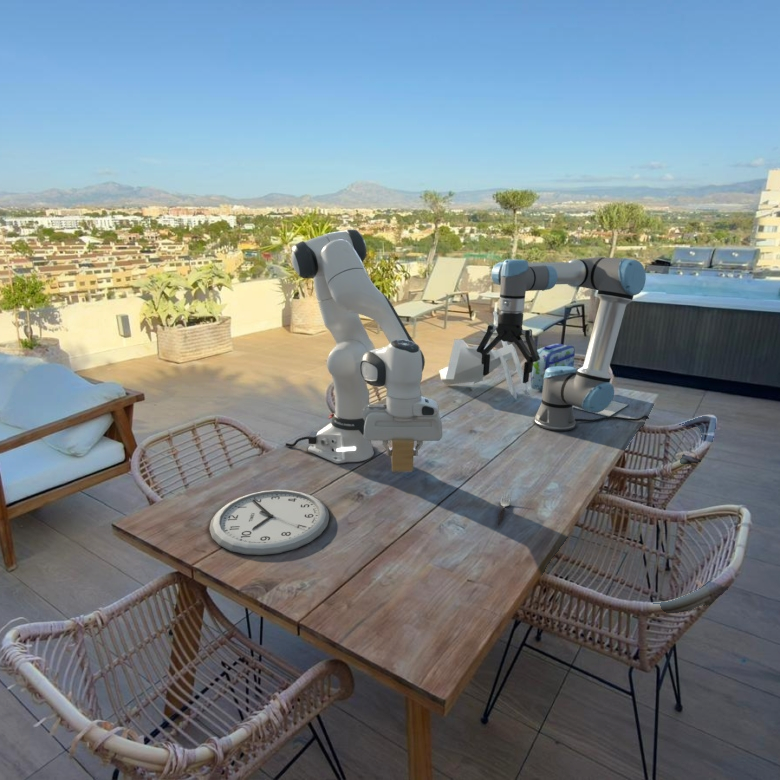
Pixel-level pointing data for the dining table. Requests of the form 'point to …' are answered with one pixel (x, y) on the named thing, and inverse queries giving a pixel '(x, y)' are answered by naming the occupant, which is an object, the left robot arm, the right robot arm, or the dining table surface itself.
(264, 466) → the dining table surface
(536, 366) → the lunch box
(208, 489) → the dining table surface
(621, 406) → the invitation card
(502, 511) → the fork
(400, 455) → the bar
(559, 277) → the right robot arm
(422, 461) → the dining table surface
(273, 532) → the wall clock
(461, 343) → the white plastic object
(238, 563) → the dining table surface
